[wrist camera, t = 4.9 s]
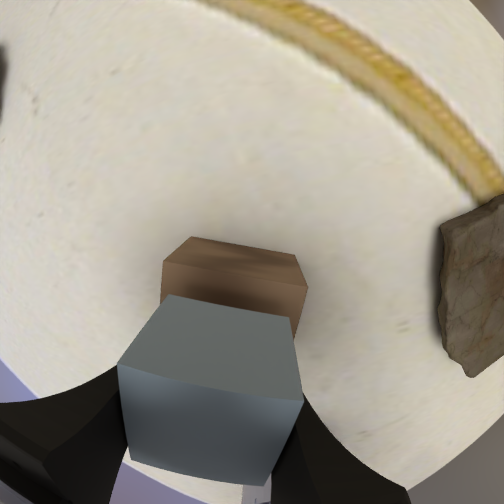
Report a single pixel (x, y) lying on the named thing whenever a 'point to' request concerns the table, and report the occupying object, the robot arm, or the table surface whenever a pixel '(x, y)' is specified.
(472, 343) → the flat brown rock
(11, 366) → the table surface
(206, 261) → the wood grain block
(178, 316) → the slate cube
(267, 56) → the table surface
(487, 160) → the table surface
